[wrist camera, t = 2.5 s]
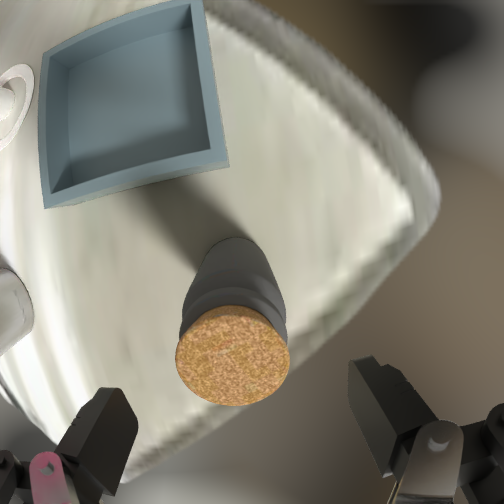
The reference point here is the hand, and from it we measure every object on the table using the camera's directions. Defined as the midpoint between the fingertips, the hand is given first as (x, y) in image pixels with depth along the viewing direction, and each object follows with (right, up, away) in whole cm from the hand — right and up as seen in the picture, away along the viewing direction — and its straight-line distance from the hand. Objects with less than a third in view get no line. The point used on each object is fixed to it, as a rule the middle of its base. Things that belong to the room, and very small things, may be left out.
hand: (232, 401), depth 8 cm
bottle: (-1, +3, +17) cm, 18 cm away
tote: (-10, +19, +13) cm, 25 cm away
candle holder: (-31, +23, +12) cm, 40 cm away
